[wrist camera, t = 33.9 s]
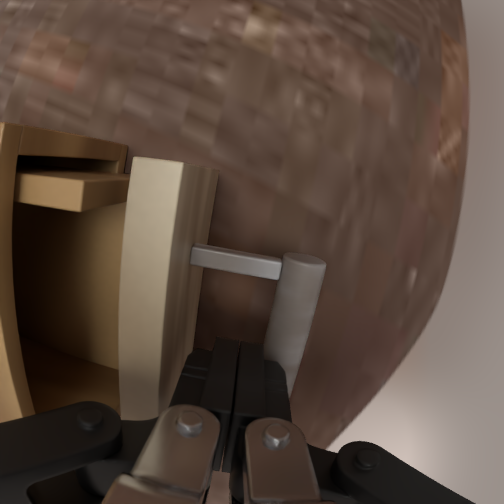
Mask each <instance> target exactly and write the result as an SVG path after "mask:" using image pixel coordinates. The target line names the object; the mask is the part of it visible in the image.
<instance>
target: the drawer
mask: <svg viewBox="0 0 504 504" xmlns="http://www.w3.org/2000/svg"><path fill="white" fill-rule="evenodd" d="M218 175H219V170H215V169H211V168H207V167H202V166H198V165H193V164H189V163H184V162H178V161H171V160H163V159H155V158H147V157H138V156H135V157H133V162H132V168H131V175H130V174H123V173H114V172H106V171H97V170H88V169H79V168H69V167H58V166H47V165H35V164H22V163H17V165H16V173H15V184H14V197H13V215H12V268H13V286H14V299H15V309H16V318H17V326H18V333H19V340H20V347H21V352H22V358H23V363H24V369H25V373H26V378H27V383H28V387H29V391H30V395H31V400H32V403H33V407H34V411H35V414H38V413H42V412H46V411H49V410H53V409H56V408H60V407H63V406H67V405H70V404H74V403H77V402H81V401H96V402H100V403H103V404H106V405H108V406H110V407H111V408H113V409H114V410H115V411H116V412H117V413H118V414H119V416H120V415H121V420H136V421H139V420H149V419H153V418H156V417H158V416H160V414H161V413H162V412H163V411H164V410H166V409H167V408H168V407H169V404H170V402H171V399H172V396H173V393H174V391H175V388H176V385H177V383H178V380H179V377H180V375H181V372H182V369H183V367H184V364H185V361H186V359H187V356H188V355H189V354H190V353H192V351H193V343H194V335H195V327H196V319H197V311H198V304H199V296H200V289H201V282H202V275H203V268H204V267H206V268H211V269H216V270H222V271H227V272H233V273H239V274H244V275H250V276H255V277H261V278H267V279H273V280H278V281H277V286H276V291H275V295H274V300H273V304H272V309H271V314H270V318H269V323H268V327H267V331H266V336H265V340H264V360H270V361H277V362H278V363H279V364H280V365H281V367H282V368H283V369H284V370H285V373H286V380H287V383H286V384H287V388H288V395H289V399H290V396H291V392H292V389H293V386H294V383H295V380H296V376H297V373H298V370H299V366H300V363H301V360H302V356H303V353H304V349H305V346H306V342H307V339H308V335H309V332H310V328H311V324H312V321H313V317H314V313H315V309H316V306H317V302H318V298H319V294H320V290H321V286H322V282H323V278H324V274H325V270H326V262H324V261H323V260H321V259H319V258H317V257H314V256H311V255H307V254H302V253H294V252H290V253H285V254H284V255H283V258H282V261H281V259H280V258H276V257H271V256H265V255H260V254H254V253H249V252H243V251H237V250H232V249H226V248H221V247H215V246H210V245H207V242H208V235H209V229H210V223H211V216H212V210H213V204H214V198H215V193H216V187H217V181H218Z"/></svg>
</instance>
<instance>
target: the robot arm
mask: <svg viewBox="0 0 504 504" xmlns="http://www.w3.org/2000/svg"><path fill="white" fill-rule="evenodd" d="M238 345H239V340H234V339H228V338H222V337H216V340H215V344H214V348H213V351H209V350H204V349H198V348H197V349H196V350H194V351H193V352H192V353H190V354H189V355H188V356H187V359H186V361H185V364H184V367H183V369H182V372H181V375H180V377H179V380H178V383H177V385H176V388H175V391H174V393H173V396H172V399H171V402H170V404H169V407H168V408H167V409H166V410H164V411H163V412H162V413H161V414H160V416H158V417H156V418H153V419H149V420H139V421H136V420H121V418H120V416H119V414H118V413H117V412H116V411H115V410H114V409H113V408H111V407H110V406H108V405H106V404H103V403H100V402H96V401H81V402H77V403H74V404H70V405H67V406H63V407H60V408H56V409H53V410H49V411H46V412H42V413H38V414H34V415H30V416H27V417H23V418H19V419H15V420H10V421H6V422H2V423H0V504H206V502H207V498H208V494H209V489H210V483H211V478H212V472H213V470H215V471H219V470H220V465H221V460H222V456H223V451H224V457H223V465H222V472H227V473H230V480H229V489H230V493H229V504H475V503H473V502H471V501H470V500H468V499H466V498H464V497H462V496H460V495H459V494H457V493H455V492H453V491H452V490H450V489H448V488H446V487H444V486H443V485H441V484H439V483H437V482H436V481H434V480H433V479H431V478H429V477H427V476H426V475H424V474H423V473H421V472H419V471H418V470H416V469H414V468H413V467H411V466H410V465H408V464H406V463H405V462H403V461H402V460H400V459H398V458H397V457H395V456H394V455H392V454H391V453H389V452H388V451H386V450H385V449H383V448H382V447H380V446H378V445H376V444H373V443H369V442H365V441H355V442H351V443H348V444H346V445H344V446H343V447H342V448H341V449H340V450H339V452H338V453H335V452H331V451H327V450H324V449H320V448H317V447H314V446H312V445H309V444H308V443H306V439H305V436H304V434H303V432H302V431H301V430H300V429H299V428H298V427H297V426H296V425H294V424H293V423H292V418H291V410H290V403H289V395H288V388H287V384H286V383H287V380H286V373H285V370H284V369H283V368H282V367H281V365H280V364H279V363H278V362H277V361H270V360H264V345H263V344H258V343H252V342H245V341H241V342H240V346H239V352H238ZM237 354H238V357H237ZM224 446H225V448H224Z"/></svg>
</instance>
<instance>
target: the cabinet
mask: <svg viewBox="0 0 504 504" xmlns="http://www.w3.org/2000/svg"><path fill="white" fill-rule="evenodd" d="M127 148H128V146H127V145H123V144H119V143H115V142H110V141H106V140H101V139H96V138H91V137H86V136H81V135H76V134H71V133H66V132H61V131H55V130H50V129H44V128H38V127H32V126H26V125H20V124H13V123H6V122H0V423H2V422H6V421H10V420H15V419H19V418H23V417H27V416H30V415H34V414H35V411H34V407H33V403H32V400H31V395H30V391H29V387H28V383H27V378H26V373H25V369H24V363H23V358H22V352H21V347H20V340H19V333H18V326H17V318H16V309H15V299H14V286H13V268H12V215H13V197H14V184H15V173H16V165H17V163H22V164H35V165H47V166H58V167H69V168H79V169H88V170H97V171H106V172H114V173H124V166H125V160H126V154H127Z"/></svg>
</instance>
